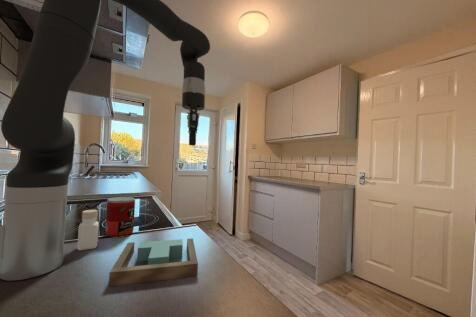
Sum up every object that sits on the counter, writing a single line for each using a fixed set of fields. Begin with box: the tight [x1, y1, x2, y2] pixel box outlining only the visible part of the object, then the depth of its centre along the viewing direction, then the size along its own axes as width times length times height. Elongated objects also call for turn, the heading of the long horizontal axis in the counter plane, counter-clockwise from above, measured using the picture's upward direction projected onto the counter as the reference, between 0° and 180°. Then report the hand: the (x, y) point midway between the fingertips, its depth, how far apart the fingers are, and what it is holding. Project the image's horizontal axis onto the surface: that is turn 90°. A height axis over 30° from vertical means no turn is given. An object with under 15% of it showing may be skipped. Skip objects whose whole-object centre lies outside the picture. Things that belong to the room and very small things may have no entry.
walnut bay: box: [108, 238, 199, 287], centre depth 46 cm, size 16×14×2 cm
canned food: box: [105, 196, 136, 238], centre depth 64 cm, size 8×8×11 cm
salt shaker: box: [76, 209, 100, 251], centre depth 53 cm, size 4×4×10 cm
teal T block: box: [136, 238, 184, 265], centre depth 47 cm, size 10×10×3 cm
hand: (192, 145), depth 69 cm, fingers closed
